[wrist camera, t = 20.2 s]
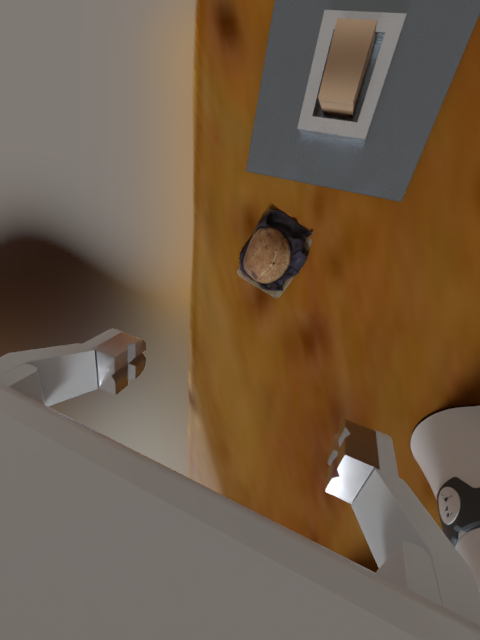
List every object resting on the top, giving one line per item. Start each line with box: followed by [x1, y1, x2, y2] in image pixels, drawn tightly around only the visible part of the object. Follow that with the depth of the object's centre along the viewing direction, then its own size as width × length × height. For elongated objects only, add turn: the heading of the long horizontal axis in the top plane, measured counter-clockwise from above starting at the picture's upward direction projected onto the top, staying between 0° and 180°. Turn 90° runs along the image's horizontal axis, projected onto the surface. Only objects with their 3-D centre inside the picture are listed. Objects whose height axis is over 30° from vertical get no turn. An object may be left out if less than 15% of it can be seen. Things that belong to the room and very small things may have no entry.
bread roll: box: [237, 208, 313, 298], centre depth 36 cm, size 11×8×4 cm
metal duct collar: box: [246, 0, 480, 202], centre depth 27 cm, size 18×18×4 cm
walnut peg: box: [318, 18, 377, 119], centre depth 25 cm, size 5×3×6 cm, turn 170°
